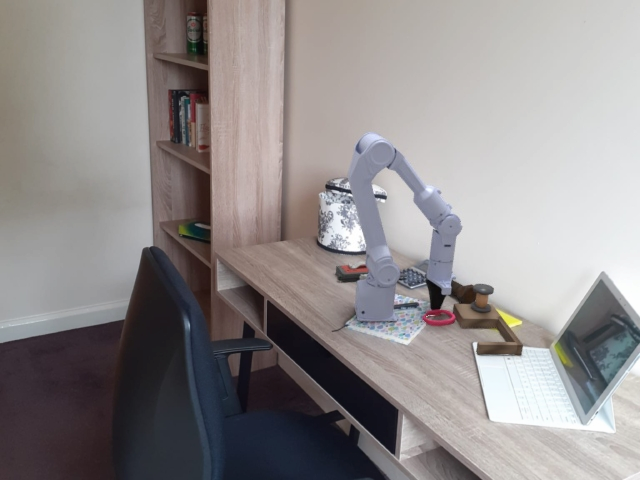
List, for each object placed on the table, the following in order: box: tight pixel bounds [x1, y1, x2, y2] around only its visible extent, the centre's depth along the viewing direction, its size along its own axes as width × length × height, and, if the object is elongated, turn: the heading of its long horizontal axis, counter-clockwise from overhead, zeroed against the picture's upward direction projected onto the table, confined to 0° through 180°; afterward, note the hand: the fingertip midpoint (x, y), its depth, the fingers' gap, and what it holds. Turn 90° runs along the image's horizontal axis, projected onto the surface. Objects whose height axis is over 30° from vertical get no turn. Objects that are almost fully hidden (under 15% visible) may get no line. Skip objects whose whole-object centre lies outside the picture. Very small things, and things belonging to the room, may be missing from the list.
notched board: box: [452, 303, 524, 356], centre depth 139 cm, size 10×20×2 cm, turn 4°
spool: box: [471, 283, 495, 313], centre depth 145 cm, size 5×5×6 cm
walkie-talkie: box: [335, 261, 408, 283], centre depth 167 cm, size 9×4×20 cm
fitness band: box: [422, 309, 456, 327], centre depth 144 cm, size 8×6×2 cm
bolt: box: [451, 279, 477, 304], centre depth 159 cm, size 6×5×15 cm
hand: (435, 309), depth 148 cm, fingers closed
